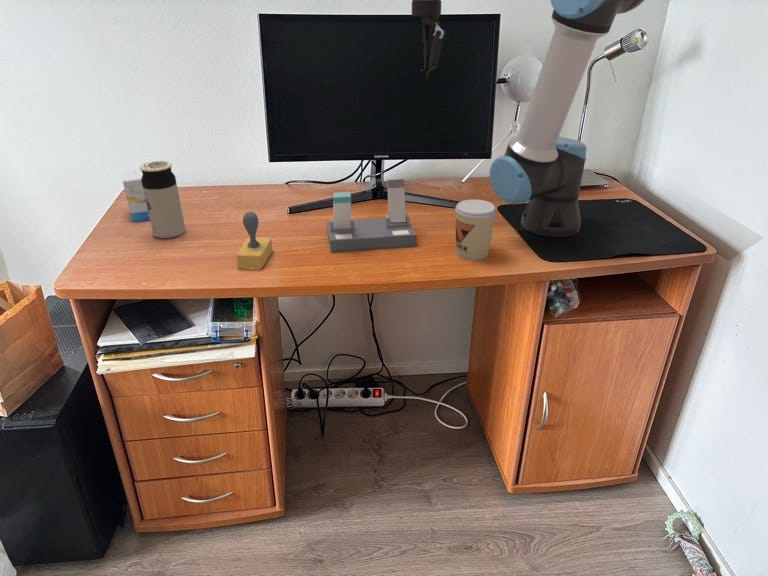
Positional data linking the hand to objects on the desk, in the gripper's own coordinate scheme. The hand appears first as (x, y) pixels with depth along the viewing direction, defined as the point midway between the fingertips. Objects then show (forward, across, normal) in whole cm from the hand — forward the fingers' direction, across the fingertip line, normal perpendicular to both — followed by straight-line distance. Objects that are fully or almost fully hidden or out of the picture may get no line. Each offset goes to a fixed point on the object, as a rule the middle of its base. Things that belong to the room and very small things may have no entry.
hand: (423, 95), depth 154 cm
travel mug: (+30, +22, +68) cm, 77 cm away
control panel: (+29, -14, +30) cm, 44 cm away
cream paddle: (+25, -10, +36) cm, 45 cm away
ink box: (+30, +38, +68) cm, 83 cm away
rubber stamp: (+30, -6, +58) cm, 65 cm away
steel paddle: (+25, -18, +24) cm, 39 cm away
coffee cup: (+30, -36, +16) cm, 49 cm away
